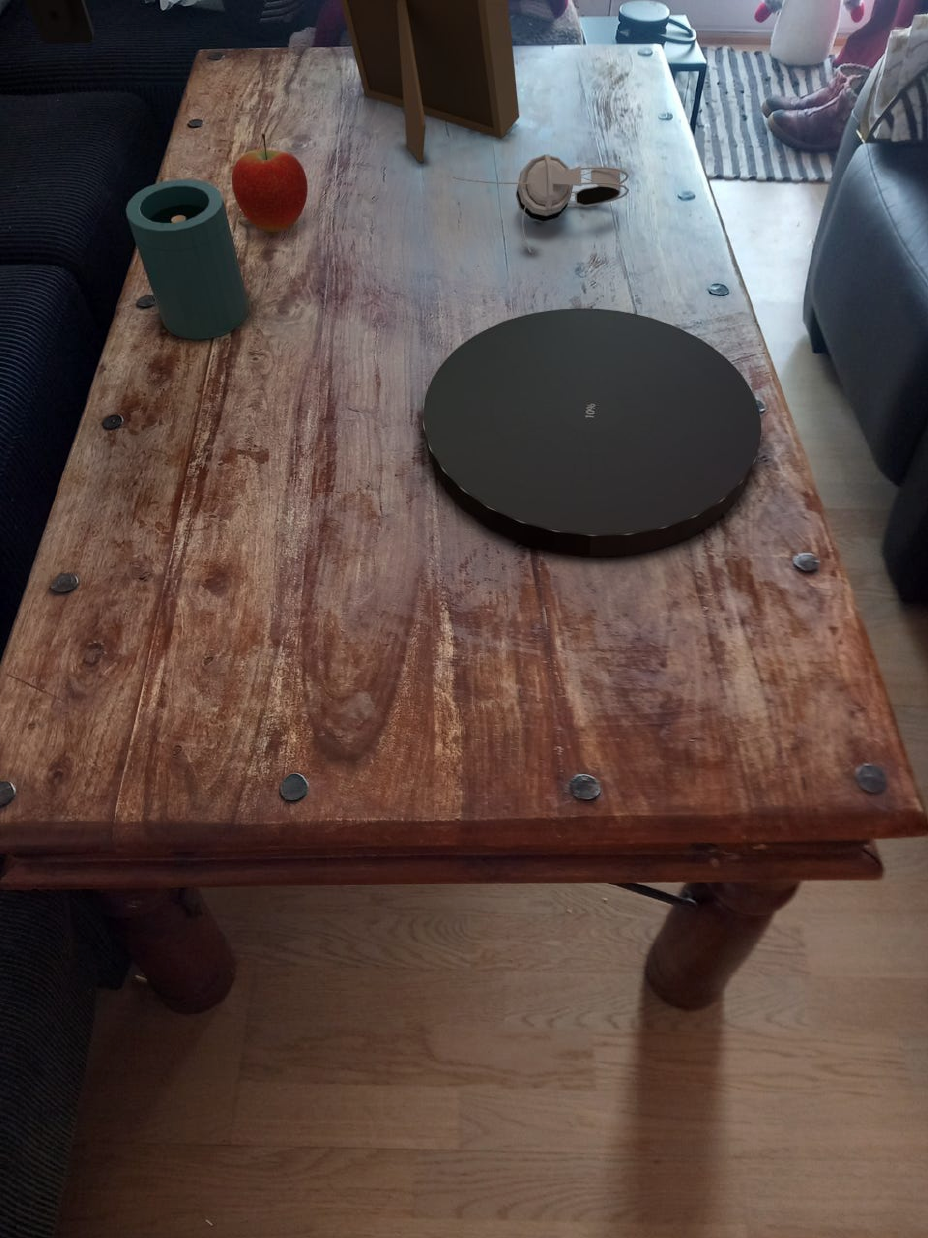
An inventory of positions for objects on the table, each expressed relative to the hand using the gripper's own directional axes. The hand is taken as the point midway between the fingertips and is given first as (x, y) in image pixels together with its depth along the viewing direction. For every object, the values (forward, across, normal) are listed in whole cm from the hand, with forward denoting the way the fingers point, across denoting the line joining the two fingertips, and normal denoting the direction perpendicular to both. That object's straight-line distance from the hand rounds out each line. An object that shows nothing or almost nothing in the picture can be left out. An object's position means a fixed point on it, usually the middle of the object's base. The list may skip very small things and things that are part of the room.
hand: (86, 7), depth 59 cm
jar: (+34, -16, -3) cm, 38 cm away
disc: (+34, +4, +35) cm, 49 cm away
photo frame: (+34, -54, +19) cm, 67 cm away
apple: (+34, -32, +3) cm, 47 cm away
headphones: (+34, -30, +33) cm, 56 cm away
